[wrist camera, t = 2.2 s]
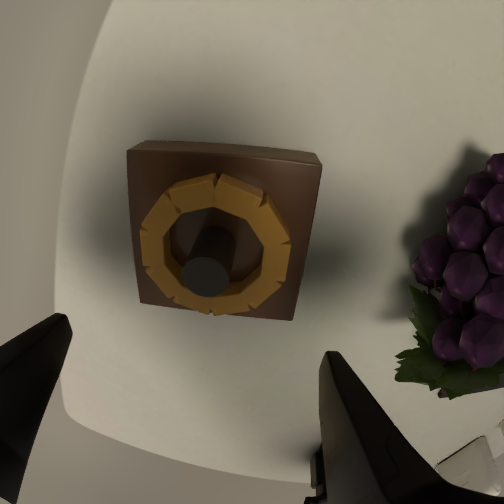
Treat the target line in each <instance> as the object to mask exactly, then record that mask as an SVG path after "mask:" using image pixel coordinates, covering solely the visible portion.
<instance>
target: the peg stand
mask: <svg viewBox="0 0 504 504" xmlns="http://www.w3.org/2000/svg"><path fill="white" fill-rule="evenodd" d="M321 172H322V164H321V162H320V161H319V159H318V158H317V156H316V154H314V153H308V152H301V151H293V150H285V149H276V148H267V147H257V146H247V145H235V144H222V143H206V142H186V141H150V140H146V141H144V142H142V143H140V144H138V145H136V146H134V147H132V148H130V149H128V150H127V178H128V196H129V210H130V223H131V233H132V243H133V253H134V261H135V269H136V277H137V284H138V291H139V298H140V303H144V304H151V305H157V306H164V307H171V308H178V309H186V310H193V309H191V308H188V307H185V306H183V305H180V304H178V303H175V302H174V301H173V300H174V297H175V296H173V297H171V298H168V297H167V296H166V295H165V294H164V293H163V291H162V290H161V289H160V288H159V287H158V286H157V284H156V283H155V282H154V281H153V280H152V278H151V277H150V276H149V275H148V274H147V272H146V268H147V267H148V266H144V265H143V261H142V251H141V240H140V229H141V228H142V227H143V226H142V225H141V223H142V222H143V221H144V219H145V218H146V216H147V215H148V213H149V212H150V211H151V209H152V208H153V206H154V205H155V204H156V202H157V201H158V200H159V198H160V197H161V196H162V194H163V193H164V192H165V191H166V190H167V189H168V188H169V187H170V186H173V185H174V184H175V183H176V182H179V181H183V180H187V179H191V178H195V177H199V176H203V175H207V174H212V173H216V174H217V178H218V180H219V178H220V176H221V174H222V173H224V174H226V175H229V176H231V177H234V178H236V179H238V180H241V181H243V182H246V183H248V184H251V185H253V186H255V187H258V188H260V189H262V190H263V196H265V195H267V194H268V195H269V196H270V198H271V199H272V201H273V203H274V204H275V206H276V208H277V209H278V211H279V213H280V214H281V216H282V218H283V219H284V221H285V223H286V224H287V226H288V228H289V234H290V239H291V250H290V256H289V262H288V268H287V273H286V279H285V282H282V286H281V287H280V288H279V289H278V290H277V291H275V292H274V293H273V294H272V295H271V296H270V297H268V298H267V299H266V300H265V301H264V302H262V303H261V304H260V305H259V306H258V307H257V308H253V307H252V306H251V308H250V311H247V312H240V313H232V314H226V315H235V316H245V317H254V318H265V319H276V320H287V321H292V320H293V317H294V312H295V308H296V303H297V299H298V294H299V289H300V285H301V280H302V275H303V270H304V265H305V260H306V255H307V250H308V245H309V240H310V235H311V229H312V224H313V219H314V213H315V208H316V202H317V196H318V190H319V185H320V179H321ZM170 245H171V254H172V255H173V256H174V258H175V259H176V260H177V261H178V263H179V264H180V265H181V266H182V268H183V269H182V279H183V282H184V284H185V286H186V287H187V288H188V289H189V290H190V291H191V292H192V293H194V294H196V295H198V296H201V297H215V296H218V295H220V294H221V293H223V292H224V291H225V290H226V288H227V287H228V284H229V283H230V282H236V281H242V280H244V279H245V278H246V277H247V276H248V275H249V274H250V273H251V272H252V271H253V270H254V269H255V268H256V267H257V266H259V265H260V264H261V260H262V252H263V245H262V243H261V242H260V240H259V239H258V237H257V236H256V234H255V232H254V231H253V229H252V228H251V226H250V225H249V223H248V222H247V220H245V219H243V218H240V217H238V216H235V215H233V214H230V213H228V212H225V211H223V210H220V209H218V208H215V207H210V208H205V209H201V210H196V211H192V212H187V213H183V214H181V215H180V216H179V218H178V219H177V220H176V221H175V223H174V224H173V225H172V226H171V228H170ZM193 311H196V310H193ZM210 313H212V310H211V311H210Z"/></svg>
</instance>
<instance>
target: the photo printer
mask: <svg viewBox="0 0 504 504" xmlns="http://www.w3.org/2000/svg"><path fill="white" fill-rule="evenodd" d="M438 472H439V475H440V476H441V477H442V478H444V479H445V480H446V481H448V482H449V483H451V484H453V485H456V486H459V487H463V488H466V489H470V490H474V491H477V492H481V493H485V494H489V495H493V496H497V495H498V494H499V493H500V492H501V490H502V485H501V480H500V477H499V474H498V471H497V468H496V465H495V462H494V459H493V456H492V453H491V450H490V447H489V444H488V442H487V440H486V437H479V438H478V439H476V440H475V441H474V442H472V443H471V444H469V445H468V446H466V447H465V448H463V449H462V450H461V451H459V452H458V453H456V454H455V455H453V456H451V457H450V458H448V459H447V460H445V461H444V462H442V463H441V464H439V465H438Z"/></svg>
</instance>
